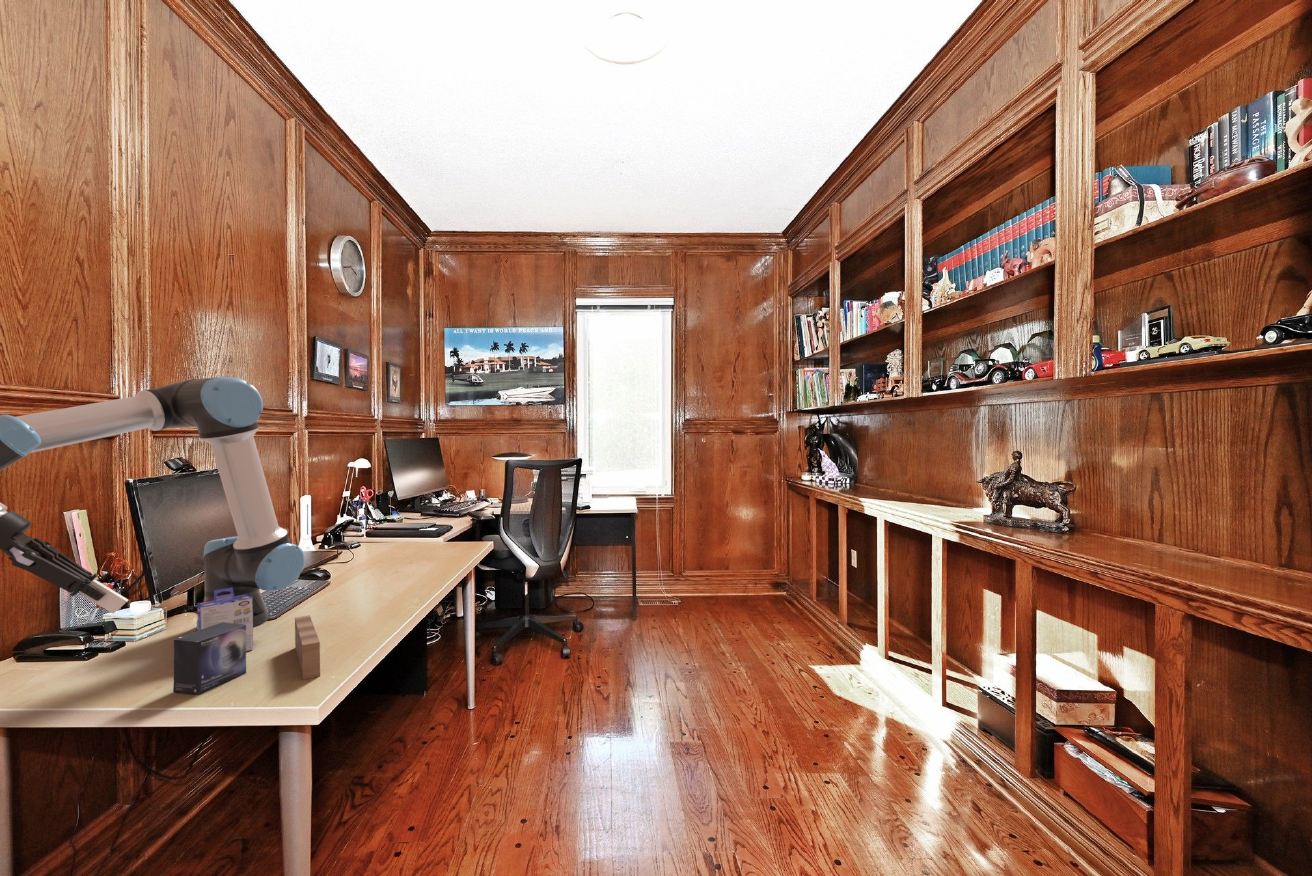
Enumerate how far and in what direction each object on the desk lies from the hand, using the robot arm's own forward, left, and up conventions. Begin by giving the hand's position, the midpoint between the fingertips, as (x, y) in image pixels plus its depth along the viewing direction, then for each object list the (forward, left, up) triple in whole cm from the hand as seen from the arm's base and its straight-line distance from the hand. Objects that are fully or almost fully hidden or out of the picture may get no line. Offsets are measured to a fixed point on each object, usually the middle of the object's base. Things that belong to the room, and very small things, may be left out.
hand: (120, 606), depth 107 cm
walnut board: (-1, +30, -18) cm, 35 cm away
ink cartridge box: (-18, +15, -18) cm, 30 cm away
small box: (0, +13, -18) cm, 22 cm away
